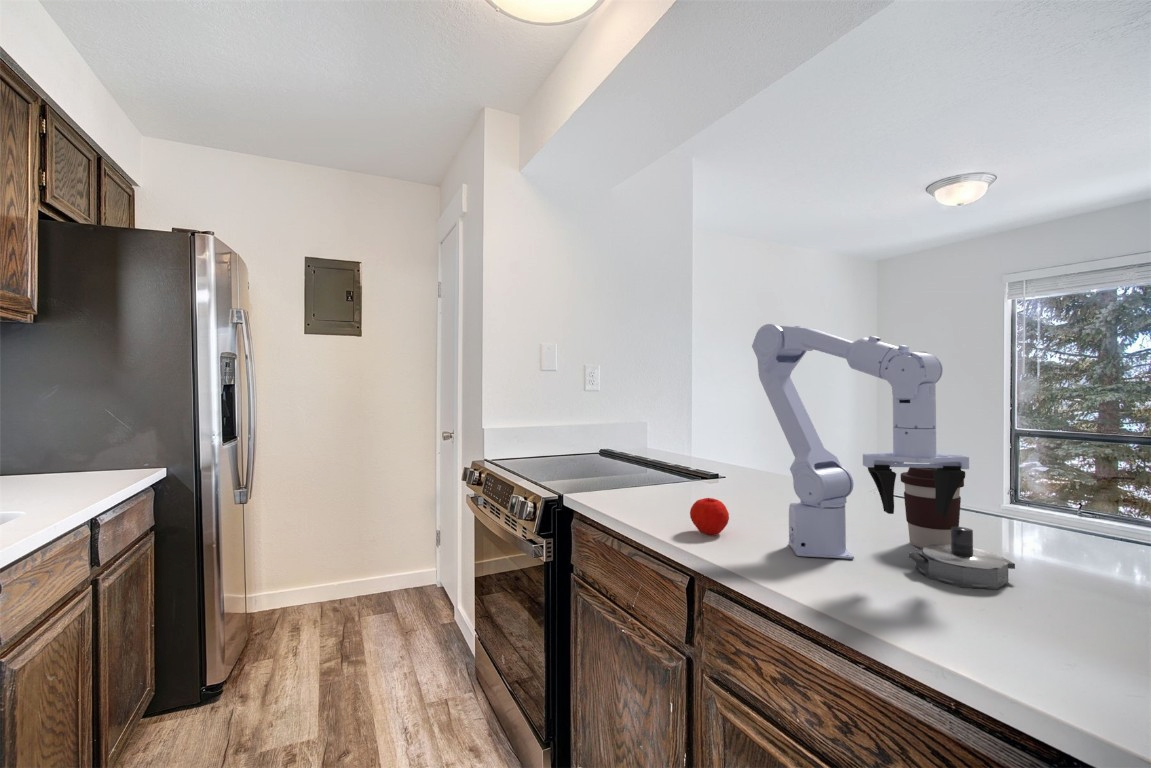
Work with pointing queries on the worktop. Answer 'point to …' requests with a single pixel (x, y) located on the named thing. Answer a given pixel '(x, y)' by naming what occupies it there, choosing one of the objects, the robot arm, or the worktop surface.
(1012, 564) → the pot
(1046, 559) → the worktop surface
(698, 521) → the apple
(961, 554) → the lid
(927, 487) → the coffee cup
